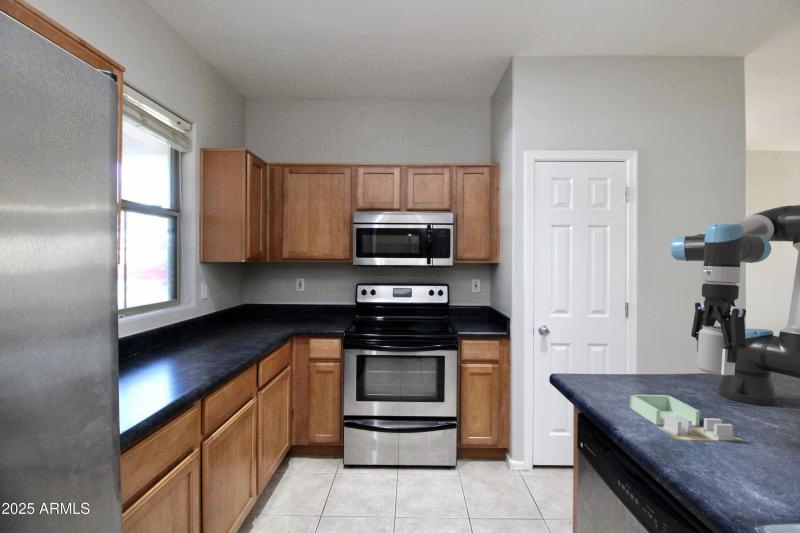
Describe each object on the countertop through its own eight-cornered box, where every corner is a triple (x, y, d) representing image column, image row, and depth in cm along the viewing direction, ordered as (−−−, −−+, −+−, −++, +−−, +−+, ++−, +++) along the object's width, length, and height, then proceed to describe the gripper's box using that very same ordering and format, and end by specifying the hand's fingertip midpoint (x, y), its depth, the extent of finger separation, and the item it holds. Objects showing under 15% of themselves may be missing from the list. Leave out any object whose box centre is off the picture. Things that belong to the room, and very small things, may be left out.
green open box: (668, 409, 119) (668, 395, 118) (699, 427, 107) (699, 411, 106) (629, 409, 118) (629, 394, 118) (655, 426, 106) (656, 410, 106)
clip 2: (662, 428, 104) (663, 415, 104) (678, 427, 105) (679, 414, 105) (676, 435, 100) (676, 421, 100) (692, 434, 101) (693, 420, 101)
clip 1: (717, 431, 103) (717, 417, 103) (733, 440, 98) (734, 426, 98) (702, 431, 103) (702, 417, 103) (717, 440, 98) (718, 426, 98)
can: (739, 377, 98) (742, 330, 98) (705, 374, 100) (708, 328, 100) (722, 369, 105) (725, 325, 105) (691, 366, 107) (693, 323, 107)
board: (719, 430, 105) (720, 428, 105) (743, 442, 98) (743, 440, 98) (657, 429, 105) (657, 427, 105) (676, 441, 98) (676, 439, 98)
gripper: (678, 280, 112) (673, 359, 113) (739, 285, 92) (733, 381, 92) (704, 281, 112) (699, 360, 113) (771, 287, 92) (764, 383, 92)
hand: (714, 369), depth 103 cm, fingers closed on can, 7 cm apart
